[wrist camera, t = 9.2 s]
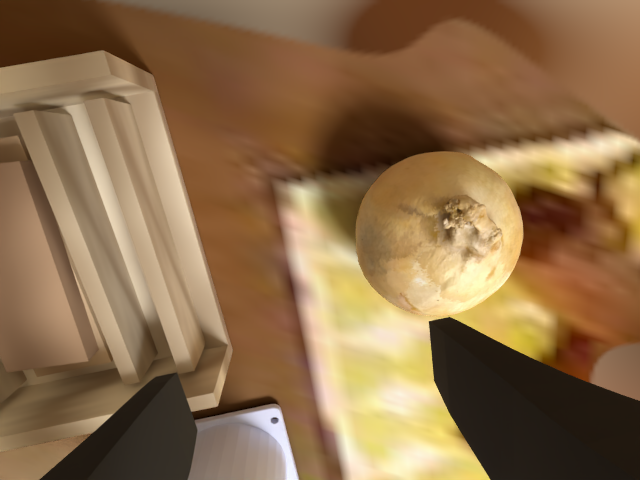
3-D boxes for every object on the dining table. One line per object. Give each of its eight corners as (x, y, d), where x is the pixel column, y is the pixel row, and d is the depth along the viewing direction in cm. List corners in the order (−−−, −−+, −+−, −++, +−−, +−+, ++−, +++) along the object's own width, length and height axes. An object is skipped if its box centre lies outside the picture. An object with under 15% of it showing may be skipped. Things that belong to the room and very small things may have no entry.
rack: (153, 75, 16) (103, 50, 12) (232, 350, 21) (218, 406, 16) (-191, 135, 16) (-376, 131, 11) (-34, 405, 20) (-123, 477, 16)
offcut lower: (33, 135, 16) (17, 135, 15) (119, 351, 20) (111, 362, 19) (-53, 151, 16) (-75, 151, 15) (49, 365, 19) (37, 377, 18)
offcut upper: (35, 160, 16) (19, 161, 15) (98, 349, 18) (88, 361, 17) (-57, 170, 15) (-80, 171, 14) (21, 360, 18) (6, 372, 17)
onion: (507, 207, 20) (619, 241, 13) (419, 309, 21) (480, 387, 15) (406, 120, 18) (477, 106, 11) (317, 237, 19) (332, 288, 13)
